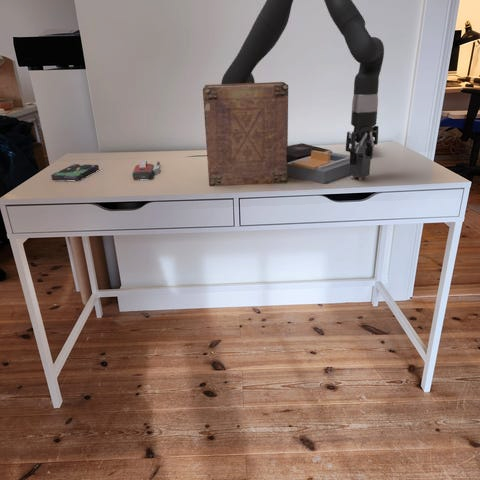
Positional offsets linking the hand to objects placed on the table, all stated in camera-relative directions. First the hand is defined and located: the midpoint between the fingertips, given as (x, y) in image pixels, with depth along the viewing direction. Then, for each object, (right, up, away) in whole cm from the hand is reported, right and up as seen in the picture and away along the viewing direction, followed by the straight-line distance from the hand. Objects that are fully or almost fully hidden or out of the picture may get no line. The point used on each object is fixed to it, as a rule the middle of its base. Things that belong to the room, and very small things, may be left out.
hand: (360, 161), depth 140 cm
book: (-36, -5, +5) cm, 37 cm away
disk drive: (-98, -2, +19) cm, 99 cm away
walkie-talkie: (-72, -1, +18) cm, 74 cm away
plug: (0, -5, +2) cm, 6 cm away
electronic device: (+10, +9, +34) cm, 36 cm away
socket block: (-10, -2, +11) cm, 14 cm away
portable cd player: (-16, +6, +29) cm, 34 cm away
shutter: (-15, 0, +5) cm, 15 cm away
